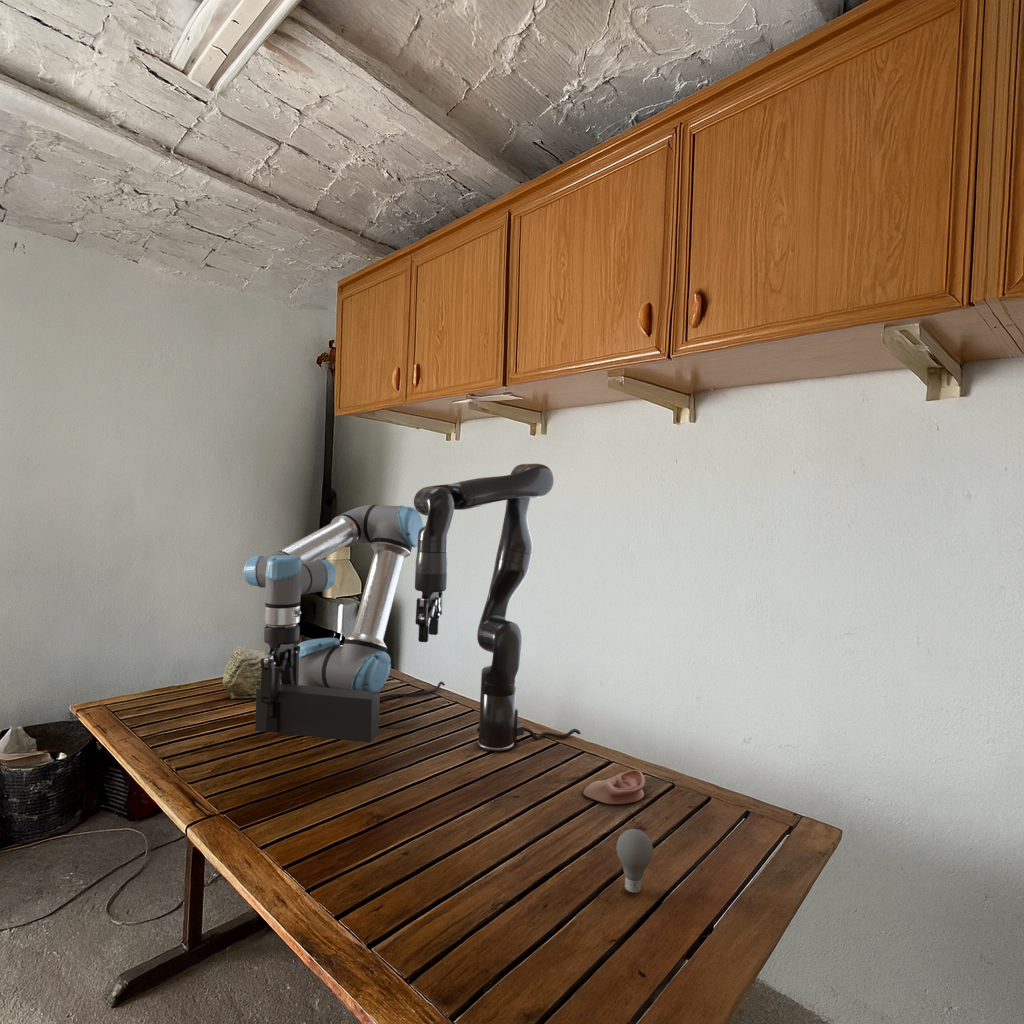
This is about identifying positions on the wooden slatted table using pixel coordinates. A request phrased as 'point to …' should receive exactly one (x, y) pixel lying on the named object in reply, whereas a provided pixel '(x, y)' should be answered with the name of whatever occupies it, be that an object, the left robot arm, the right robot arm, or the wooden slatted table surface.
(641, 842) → the light bulb
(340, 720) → the bar
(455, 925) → the wooden slatted table surface
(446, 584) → the right robot arm
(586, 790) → the anatomical model
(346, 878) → the wooden slatted table surface
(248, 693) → the fossil
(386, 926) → the wooden slatted table surface
